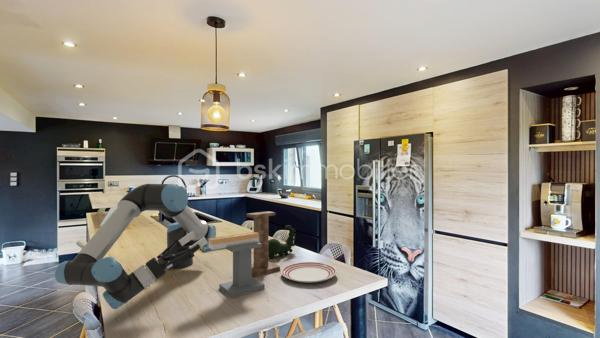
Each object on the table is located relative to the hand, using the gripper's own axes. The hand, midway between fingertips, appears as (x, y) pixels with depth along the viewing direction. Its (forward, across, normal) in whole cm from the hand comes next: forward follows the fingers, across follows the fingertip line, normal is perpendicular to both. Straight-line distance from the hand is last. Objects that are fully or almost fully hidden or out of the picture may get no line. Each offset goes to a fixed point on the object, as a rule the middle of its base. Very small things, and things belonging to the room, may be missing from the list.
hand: (199, 236), depth 125 cm
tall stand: (+20, -16, -41) cm, 49 cm away
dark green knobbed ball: (+40, -32, -53) cm, 73 cm away
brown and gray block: (+10, 0, -13) cm, 16 cm away
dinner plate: (+32, +6, -49) cm, 59 cm away
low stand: (+4, 0, -32) cm, 32 cm away
